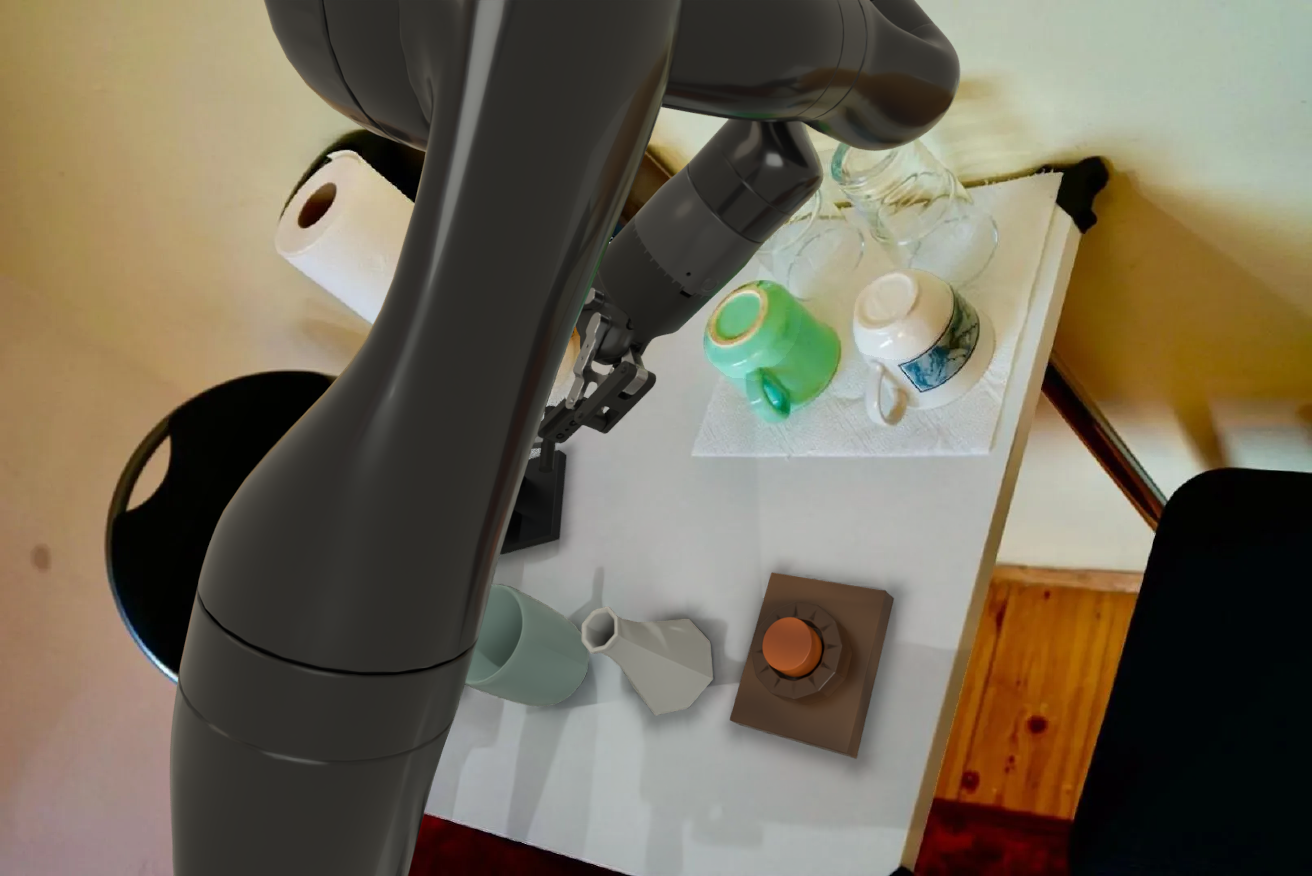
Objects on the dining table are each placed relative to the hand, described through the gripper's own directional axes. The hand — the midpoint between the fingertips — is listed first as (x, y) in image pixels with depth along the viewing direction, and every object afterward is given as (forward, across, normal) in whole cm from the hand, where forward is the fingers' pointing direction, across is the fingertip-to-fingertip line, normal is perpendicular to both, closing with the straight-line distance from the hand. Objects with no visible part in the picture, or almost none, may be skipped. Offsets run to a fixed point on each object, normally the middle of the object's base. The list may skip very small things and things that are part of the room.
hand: (540, 393), depth 68 cm
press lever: (+12, -4, +3) cm, 12 cm away
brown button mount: (-5, +22, +17) cm, 28 cm away
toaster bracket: (+19, -5, +11) cm, 22 cm away
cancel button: (-6, +22, +14) cm, 27 cm away
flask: (+6, +18, +15) cm, 24 cm away
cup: (+15, +14, +12) cm, 24 cm away
